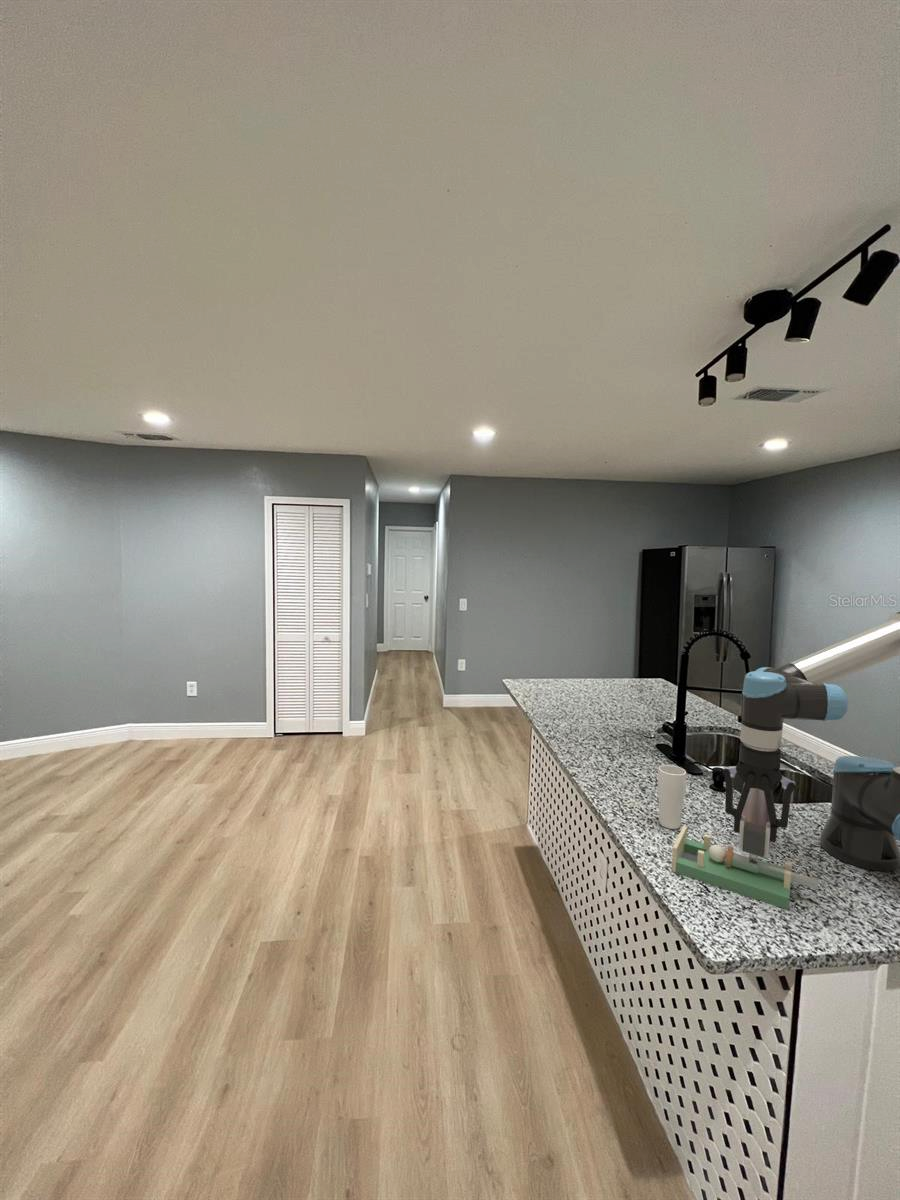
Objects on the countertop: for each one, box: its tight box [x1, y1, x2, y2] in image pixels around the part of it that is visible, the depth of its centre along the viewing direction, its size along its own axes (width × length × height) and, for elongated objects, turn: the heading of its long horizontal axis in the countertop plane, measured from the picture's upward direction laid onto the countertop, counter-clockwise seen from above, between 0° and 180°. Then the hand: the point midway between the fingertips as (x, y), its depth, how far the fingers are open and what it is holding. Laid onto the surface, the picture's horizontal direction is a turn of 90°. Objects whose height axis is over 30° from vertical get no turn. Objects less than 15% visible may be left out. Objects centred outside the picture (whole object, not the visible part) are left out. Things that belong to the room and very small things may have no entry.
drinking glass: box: [657, 764, 687, 830], centre depth 136 cm, size 7×7×15 cm
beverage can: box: [742, 782, 770, 826], centre depth 129 cm, size 6×6×15 cm
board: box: [671, 825, 793, 911], centre depth 115 cm, size 22×12×6 cm, turn 55°
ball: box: [709, 844, 726, 862], centre depth 116 cm, size 4×4×4 cm
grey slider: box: [725, 821, 819, 890], centre depth 110 cm, size 16×4×9 cm, turn 55°
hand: (753, 850), depth 112 cm, fingers closed on grey slider, 4 cm apart
